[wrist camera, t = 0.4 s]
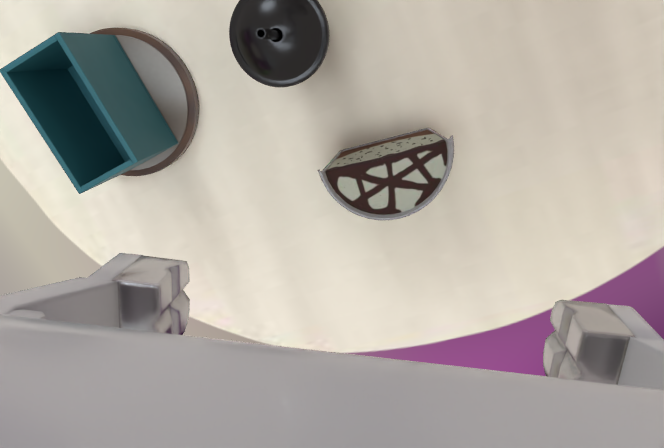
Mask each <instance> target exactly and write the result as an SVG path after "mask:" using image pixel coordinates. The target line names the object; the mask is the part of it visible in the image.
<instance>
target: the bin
mask: <svg viewBox="0 0 664 448" xmlns="http://www.w3.org/2000/svg"><path fill="white" fill-rule="evenodd" d="M0 72H1V74H2V76H3V77H4V79H5V80H6V82H7V83H8V85H9V86H10V88H11V89H12V91H13V93H14V94H15V96H16V97H17V99H18V100H19V102H20V103H21V105H22V106H23V108H24V109H25V111H26V113H27V114H28V116H29V117H30V119H31V120H32V122H33V123H34V125H35V126H36V128H37V130H38V131H39V133H40V134H41V136H42V137H43V139H44V140H45V142H46V143H47V145H48V146H49V148H50V150H51V151H52V153H53V154H54V156H55V157H56V159H57V160H58V162H59V163H60V165H61V166H62V168H63V170H64V171H65V173H66V174H67V176H68V177H69V179H70V180H71V182H72V183H73V185H74V187H75V188H76V190H77V191H78V193H79V194H81V193H83V192H85V191H87V190H89V189H91V188H93V187H95V186H98V185H100V184H102V183H104V182H106V181H108V180H110V179H112V178H114V177H117V176H119V175H121V174H123V173H125V172H127V171H129V170H131V169H133V168H135V167H136V166H138V165H140V164H142V163H144V162H146V161H147V160H149V159H151V158H153V157H155V156H156V155H158V154H160V153H162V152H164V151H166V150H167V149H169V148H171V147H173V146H175V145H176V144H178V141H177V140H176V138H175V136H174V135H173V133H172V131H171V129H170V128H169V126H168V124H167V123H166V121H165V119H164V118H163V116H162V114H161V112H160V111H159V109H158V107H157V106H156V104H155V102H154V101H153V99H152V97H151V96H150V94H149V92H148V90H147V89H146V87H145V85H144V84H143V82H142V80H141V79H140V77H139V75H138V73H137V72H136V70H135V68H134V67H133V65H132V63H131V62H130V60H129V58H128V57H127V55H126V53H125V51H124V50H123V48H122V46H121V45H120V43H119V41H118V40H117V38H116V36H115V35H104V34H85V33H66V32H58V33H56V34H55V35H53V36H52V37H50V38H49V39H47V40H45V41H44V42H42V43H41V44H39V45H38V46H36V47H34V48H33V49H31V50H30V51H28V52H27V53H25V54H23V55H22V56H20V57H19V58H17V59H16V60H14V61H12V62H11V63H9V64H8V65H6V66H5V67H3V68H1V69H0Z"/></svg>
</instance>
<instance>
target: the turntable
mask: <svg viewBox="0 0 664 448" xmlns="http://www.w3.org/2000/svg"><path fill="white" fill-rule="evenodd" d="M90 34H104V35H115V36H116V38H117V40H118V41H119V43H120V45H121V46H122V48H123V50H124V51H125V53H126V55H127V57H128V58H129V60H130V62H131V63H132V65H133V67H134V68H135V70H136V72H137V73H138V75H139V77H140V79H141V80H142V82H143V84H144V85H145V87H146V89H147V90H148V92H149V94H150V96H151V97H152V99H153V101H154V102H155V104H156V106H157V107H158V109H159V111H160V112H161V114H162V116H163V118H164V119H165V121H166V123H167V124H168V126H169V128H170V129H171V131H172V133H173V135H174V136H175V138H176V140H177V141H178V144H176V145H175V146H173V147H171V148H169V149H167V150H166V151H164V152H162V153H160V154H158V155H156V156H155V157H153V158H151V159H149V160H147V161H146V162H144V163H142V164H140V165H138V166H136V167H135V168H133V169H131V170H129V171H127V172H125V173H123V174H121V175H125V176H141V175H147V174H151V173H154V172H157V171H159V170H161V169H163V168H165V167H167V166H169V165H170V164H172V163H173V162H175V161H176V160H177V159H178V158H179V157H180V156H181V155H182V154H183V153H184V152H185V150H186V149H187V148H188V146H189V145H190V143H191V141H192V139H193V137H194V134H195V131H196V127H197V123H198V114H199V106H198V97H197V91H196V88H195V85H194V82H193V79H192V77H191V75H190V73H189V71H188V69H187V67H186V66H185V64H184V63H183V61H182V60H181V59H180V57H179V56H178V55H177V54H176V53H175V52H174V51H173V50H172V49H171V48H170V47H169V46H167V45H166V44H165V43H164V42H162V41H161V40H159V39H157V38H156V37H154V36H152V35H150V34H147V33H145V32H142V31H138V30H134V29H128V28H107V29H102V30H98V31H95V32H92V33H90Z"/></svg>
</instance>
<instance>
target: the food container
mask: <svg viewBox="0 0 664 448" xmlns="http://www.w3.org/2000/svg"><path fill="white" fill-rule="evenodd" d="M453 158H454V141H453V135H452V136H451V137H450V139H447V138H446V137H444V136H442V135H441V134H439V133H437V132H436V131H434V130H432V129H431V128H425V129H422V130H418V131H414V132H410V133H406V134H402V135H398V136H394V137H391V138H387V139H383V140H379V141H375V142H371V143H367V144H364V145H360V146H356V147H352V148H348V149H344V150H340V151H339V153H338V154H337V155H336V156H335V157H334V158H333V159H332V160H331V162H330V163H329V164H328V165H327V166H326V167H325V168H324V169H323V171H320V169H319V170H318V172H319V175H320V177H321V180H322V182H323V183H324V185H325V187H326V189H327V190H328V192H329V193H330V194H331V196H332V197H333V198H334V199H335V200H336V201H337V202H338V203H339V204H340V205H341V206H343V207H344V208H346V209H347V210H349V211H350V212H352V213H354V214H356V215H359V216H362V217H365V218H368V219H374V220H393V219H400V218H403V217H406V216H409V215H411V214H413V213H415V212H417V211H419V210H421V209H422V208H424V207H425V206H427V205H428V204H429V203H430V202H431V201H432V200H433V199H434V198H435V197H436V196H437V194H438V193H439V192H440V191H441V189H442V188H443V186H444V184H445V182H446V180H447V178H448V176H449V173H450V171H451V168H452V163H453Z"/></svg>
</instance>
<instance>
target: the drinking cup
mask: <svg viewBox="0 0 664 448" xmlns="http://www.w3.org/2000/svg"><path fill="white" fill-rule="evenodd" d="M229 36H230V44H231V48H232V51H233V54H234V56H235V58H236V60H237V62H238V64H239V65H240V66H241V68H242V69H243V70H244V71H245V72H246V73H247V74H248V75H249V76H250V77H252V78H253V79H255V80H256V81H258V82H260V83H262V84H265V85H268V86H272V87H289V86H293V85H296V84H299V83H301V82H303V81H305V80H306V79H308V78H309V77H311V76H312V75H313V74H314V73H315V72H316V71H317V70H318V68H319V67H320V66H321V64H322V62H323V60H324V58H325V56H326V53H327V50H328V46H329V25H328V21H327V18H326V15H325V12H324V10H323V8H322V7H321V5H320V4H319V2H318V1H317V0H240V1H239V2H238V4H237V5H236V7H235V9H234V12H233V14H232V17H231V22H230V29H229Z"/></svg>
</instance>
